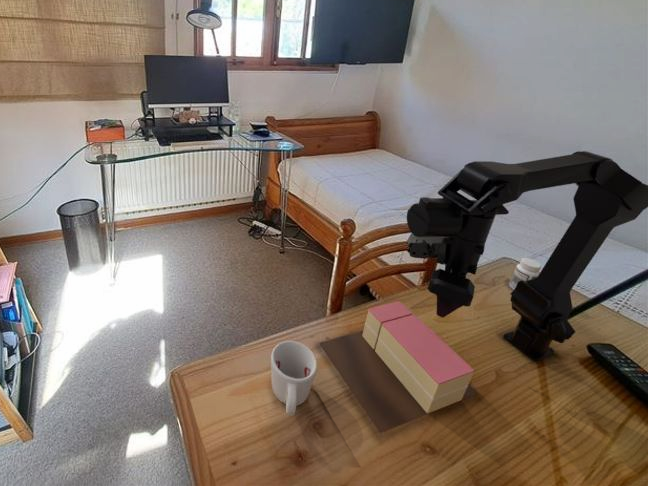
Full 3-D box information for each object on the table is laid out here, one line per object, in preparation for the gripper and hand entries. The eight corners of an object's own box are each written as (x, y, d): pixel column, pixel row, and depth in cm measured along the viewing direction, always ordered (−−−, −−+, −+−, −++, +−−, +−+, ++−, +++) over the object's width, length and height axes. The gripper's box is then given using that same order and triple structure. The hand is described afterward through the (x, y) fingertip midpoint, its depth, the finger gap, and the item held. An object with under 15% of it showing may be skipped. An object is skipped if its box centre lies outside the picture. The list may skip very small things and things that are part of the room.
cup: (312, 436, 55) (319, 403, 52) (263, 424, 56) (267, 391, 53) (311, 375, 65) (316, 344, 62) (269, 366, 66) (273, 336, 63)
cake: (405, 341, 71) (414, 314, 69) (461, 400, 60) (475, 370, 57) (374, 350, 69) (381, 323, 66) (427, 414, 58) (439, 383, 55)
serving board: (400, 322, 77) (401, 319, 77) (476, 397, 62) (477, 393, 61) (317, 346, 71) (318, 342, 70) (378, 436, 55) (379, 433, 55)
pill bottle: (526, 285, 91) (538, 259, 88) (534, 296, 87) (547, 270, 84) (505, 280, 92) (516, 255, 89) (512, 292, 88) (524, 265, 85)
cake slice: (391, 327, 75) (399, 300, 72) (404, 340, 72) (413, 313, 69) (361, 335, 72) (368, 308, 70) (373, 349, 69) (381, 322, 66)
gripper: (425, 201, 71) (408, 262, 77) (406, 239, 57) (387, 310, 63) (490, 218, 65) (466, 283, 71) (485, 266, 51) (456, 341, 57)
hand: (443, 301), depth 66 cm, fingers open, 9 cm apart
